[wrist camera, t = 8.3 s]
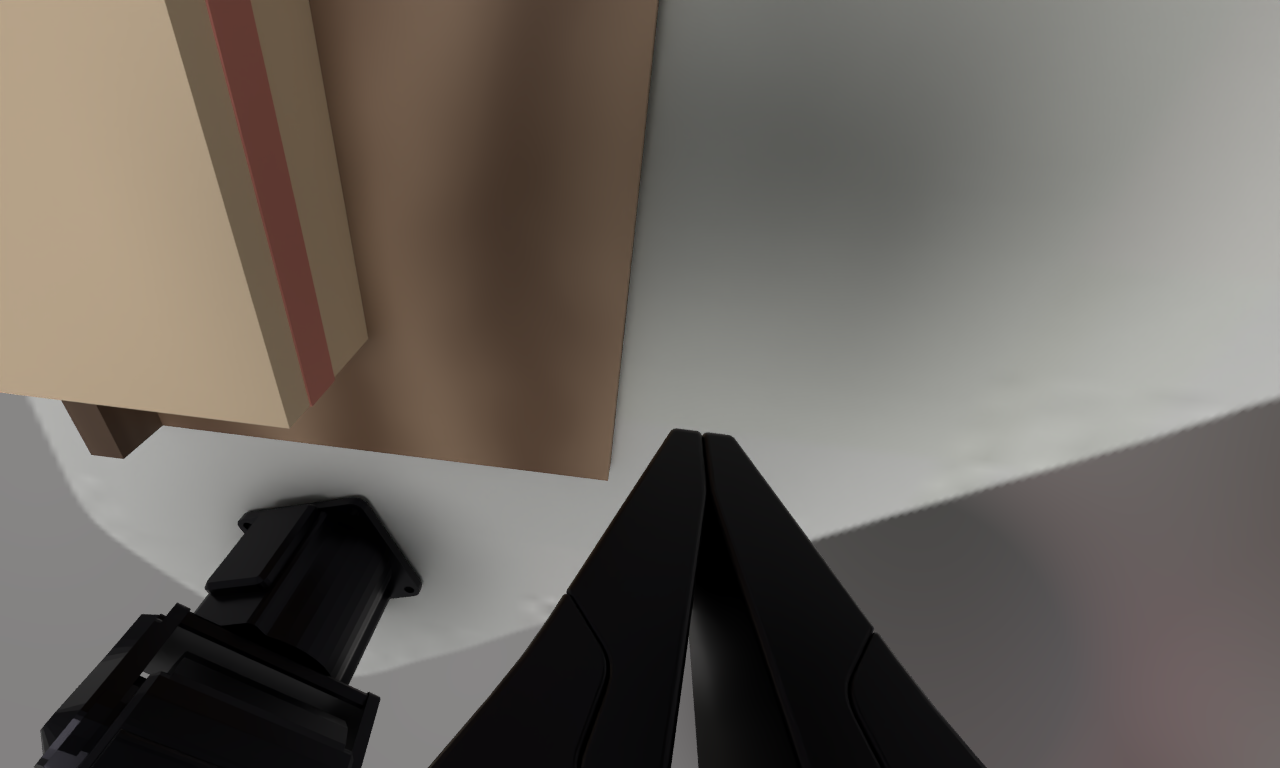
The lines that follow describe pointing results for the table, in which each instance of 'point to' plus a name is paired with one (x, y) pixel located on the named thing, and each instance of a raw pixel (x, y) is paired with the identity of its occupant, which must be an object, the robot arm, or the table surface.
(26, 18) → the kraft carton
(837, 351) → the table surface
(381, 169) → the display board
